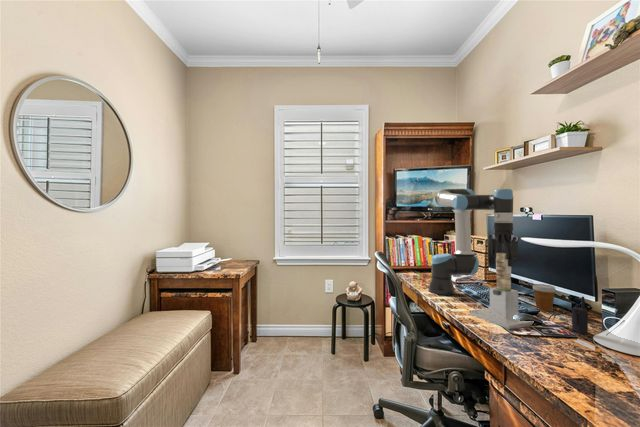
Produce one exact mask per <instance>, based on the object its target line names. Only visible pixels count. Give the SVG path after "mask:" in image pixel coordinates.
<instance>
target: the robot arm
mask: <svg viewBox="0 0 640 427" xmlns="http://www.w3.org/2000/svg"><path fill="white" fill-rule="evenodd" d="M434 201H435V204H437V206H440V207H443V208H452V209H451V211H453V213H454V224H455V225H454V226H455V228H454V230H455V251H454V252H453V255H452V254H451V253H439V254H438V253H437V254H435V255H432V256H431V260H430V261H431V262H430V263H431V264H430V265H431V278H430V282H429V286H428V291H429V293H432V294H437V295H443V296H444V295H445V296H448V295H454V294H455V293H456V289H455V287H454V284H453V283H454V282H453V278H452V276H474V275H476V274H477V272H478V270H479V267H480V266H479V265H480V262H479V258H478V257H477V256H475V253H474V252H473V251H472V236H471V235H472V230H471V228H472V227H471V212H472V211H475V210H476V211H477V210H478V211H479V210H480V211H482V210H484V211H493V221H494V223H493V230H494V233H493V234H489V235H488V238H489V242H490V244H489V246H490V247H489V248H490V256H492V257H494V264H495V272H496V273H497V271H496V270H497V266H496V265H497V264H496V253H502V249H503V245H504V248H505V249H504V250H505V253H506V255H507V258H506V274H510V273H511V274H512V268H513V266H514V263H513V262H514V259H517V258H518V254H519V253H518V250H519V249H518V248H519V241H520V237H519V236H516V235H514V233H513V231H514V224H513V222H514V193H513V190H512V189H511V188H500V189H499V188H498V189H495V190H494V191H493V194H476V193H475V191H474V190H473V189H470V188H445V189H442V190H439V191H438V192H437V193H435V196H434Z"/></svg>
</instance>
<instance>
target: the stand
mask: <svg viewBox="0 0 640 427" xmlns="http://www.w3.org/2000/svg"><path fill="white" fill-rule="evenodd" d="M496 288H497V286H495V287H490V288H489V307H487V308H480V309H473V310H469V315H471V316H474V317H475V318H479V319H481V320H484V321H486V322H488V323H492V324H495V325H496V326H499V327H501V328H504V329H507V330H513V329H518V328H524V327H529V326H532V324H533V323H534V321H520V320H515V319H513V316H514V315H516V314H518V313H519V290H516V289H513V288H511V291H502V290H498V289H496ZM538 319H539V320H541V319H540V318H538Z"/></svg>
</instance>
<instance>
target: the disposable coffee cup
mask: <svg viewBox="0 0 640 427" xmlns="http://www.w3.org/2000/svg"><path fill="white" fill-rule="evenodd" d="M532 289H533V294H534V295H533V296H534V301H535V308H536V307H537V308H539V309H540V310H539V311H541V310H542V311H541V312H552V311H553V308H554V307H553V305H554V299H555V293H556V291H557V289H556V287H555V286H553V285H550V284H545V283H534V284H533V285H532ZM537 308H536V309H537Z"/></svg>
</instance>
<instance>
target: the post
mask: <svg viewBox="0 0 640 427" xmlns="http://www.w3.org/2000/svg"><path fill="white" fill-rule="evenodd" d="M506 258H507V255H506V252H501V253H496V264H497V265H496V264H495V267H496V266H497V270H496V269H495V272H496V271H497V272H496V287H497V288H496V289H498V290H502V291H511V289H512V279H511V278H512V275H511V274H512V272H511V273H510V274H506Z"/></svg>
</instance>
